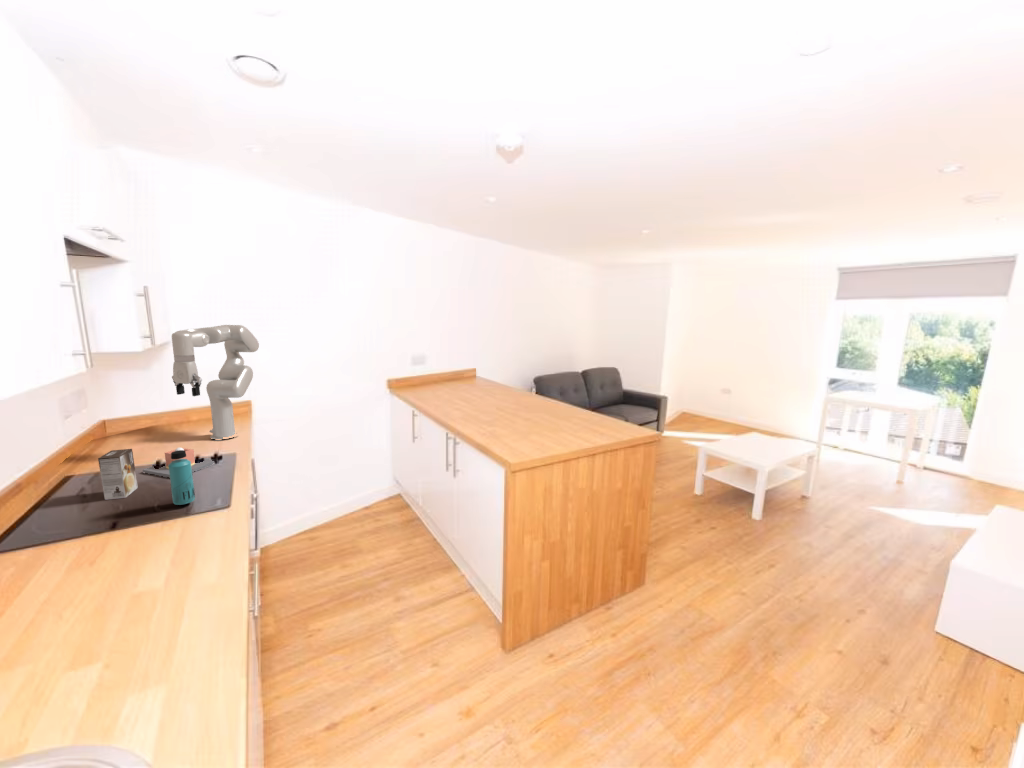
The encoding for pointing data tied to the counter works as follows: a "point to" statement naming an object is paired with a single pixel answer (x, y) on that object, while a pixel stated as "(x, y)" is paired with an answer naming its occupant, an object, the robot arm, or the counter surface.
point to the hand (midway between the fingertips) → (188, 394)
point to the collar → (188, 456)
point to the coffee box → (118, 473)
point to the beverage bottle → (181, 479)
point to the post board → (165, 469)
